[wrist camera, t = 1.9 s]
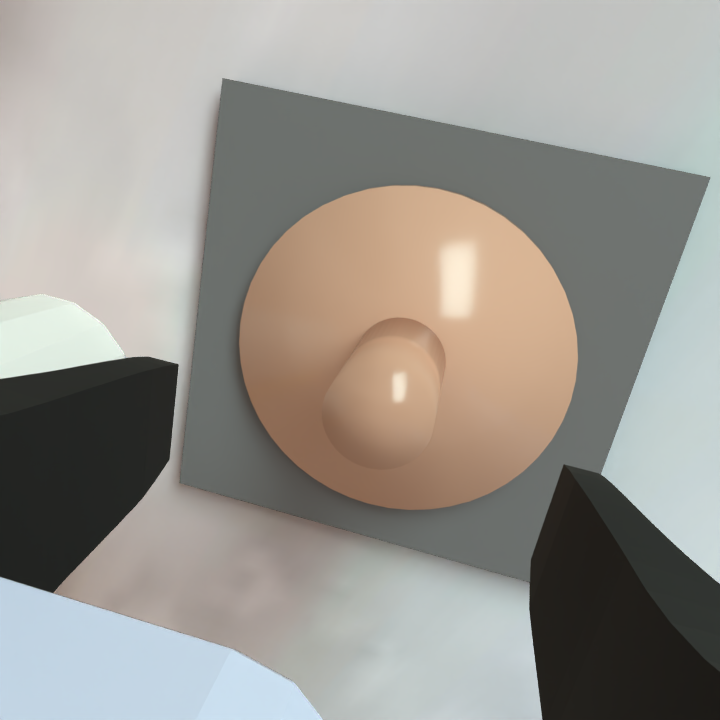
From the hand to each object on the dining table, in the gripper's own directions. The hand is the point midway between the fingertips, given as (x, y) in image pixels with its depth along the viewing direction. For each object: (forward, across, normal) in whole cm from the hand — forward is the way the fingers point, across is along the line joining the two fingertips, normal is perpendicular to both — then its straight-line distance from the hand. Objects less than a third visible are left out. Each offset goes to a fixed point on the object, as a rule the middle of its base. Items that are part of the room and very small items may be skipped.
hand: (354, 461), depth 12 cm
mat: (+7, 0, 0) cm, 7 cm away
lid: (+6, 0, 0) cm, 7 cm away
